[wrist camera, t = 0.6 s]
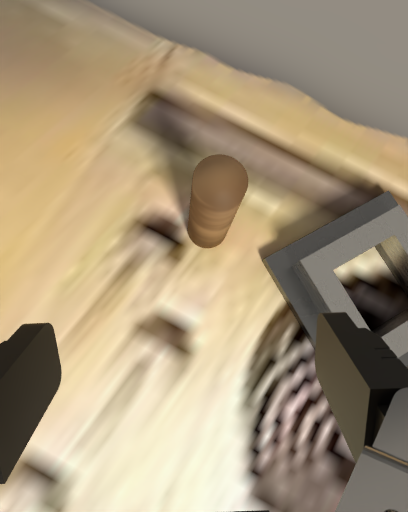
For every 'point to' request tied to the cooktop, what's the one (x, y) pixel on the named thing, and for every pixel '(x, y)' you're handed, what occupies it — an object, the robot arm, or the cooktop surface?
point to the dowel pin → (215, 199)
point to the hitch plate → (316, 243)
